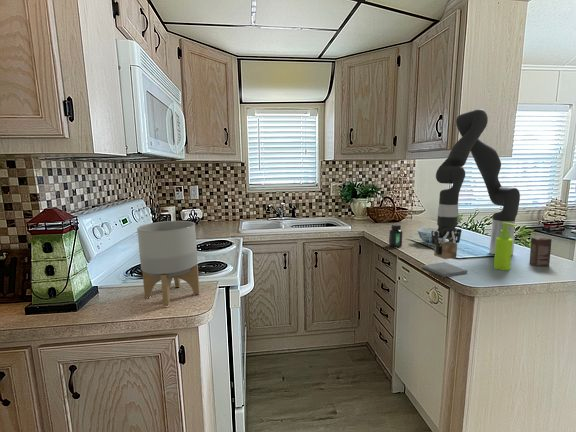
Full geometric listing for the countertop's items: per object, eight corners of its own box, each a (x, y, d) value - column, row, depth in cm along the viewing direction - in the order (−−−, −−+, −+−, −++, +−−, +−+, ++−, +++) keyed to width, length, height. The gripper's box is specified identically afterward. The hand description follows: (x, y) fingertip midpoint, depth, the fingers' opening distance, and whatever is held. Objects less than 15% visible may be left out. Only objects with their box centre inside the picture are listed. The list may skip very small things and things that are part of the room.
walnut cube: (445, 253, 138) (446, 240, 137) (456, 257, 132) (457, 243, 131) (434, 255, 136) (434, 241, 135) (444, 259, 130) (445, 245, 129)
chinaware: (451, 244, 177) (452, 230, 176) (436, 248, 169) (437, 234, 168) (426, 239, 190) (427, 226, 188) (411, 243, 181) (412, 230, 180)
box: (541, 262, 143) (544, 236, 141) (549, 266, 138) (552, 239, 136) (528, 263, 143) (530, 237, 141) (535, 266, 138) (538, 239, 136)
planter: (203, 284, 125) (198, 219, 120) (195, 305, 106) (189, 229, 102) (153, 287, 122) (147, 221, 118) (136, 309, 104) (128, 232, 100)
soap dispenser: (507, 271, 132) (512, 224, 129) (490, 267, 138) (494, 222, 135) (515, 269, 135) (520, 223, 131) (498, 265, 141) (502, 221, 137)
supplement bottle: (400, 248, 171) (401, 226, 169) (387, 247, 174) (388, 225, 172) (403, 245, 177) (403, 224, 175) (390, 244, 180) (391, 223, 178)
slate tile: (444, 264, 143) (444, 262, 142) (467, 273, 131) (467, 270, 131) (422, 267, 139) (423, 265, 139) (444, 276, 128) (444, 274, 127)
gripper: (454, 212, 137) (451, 249, 140) (427, 214, 133) (424, 253, 135) (468, 215, 130) (465, 254, 133) (440, 217, 126) (438, 258, 128)
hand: (445, 253), depth 134 cm, fingers closed on walnut cube, 6 cm apart
